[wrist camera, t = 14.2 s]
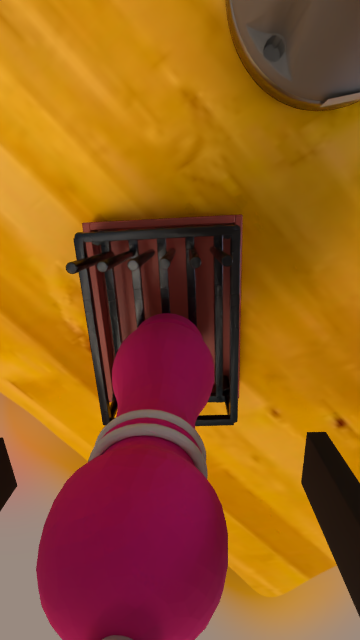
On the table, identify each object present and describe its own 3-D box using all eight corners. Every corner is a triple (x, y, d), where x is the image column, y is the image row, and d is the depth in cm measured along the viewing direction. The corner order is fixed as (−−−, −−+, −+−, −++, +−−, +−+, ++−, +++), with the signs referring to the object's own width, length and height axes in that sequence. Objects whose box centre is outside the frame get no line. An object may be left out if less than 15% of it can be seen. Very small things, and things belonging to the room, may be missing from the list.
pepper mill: (156, 396, 26) (72, 855, 7) (109, 334, 24) (-175, 725, 5) (225, 359, 25) (351, 801, 6) (180, 290, 23) (150, 600, 4)
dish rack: (91, 223, 25) (12, 219, 14) (237, 215, 25) (280, 205, 13) (114, 389, 30) (70, 485, 19) (235, 385, 30) (264, 482, 19)
